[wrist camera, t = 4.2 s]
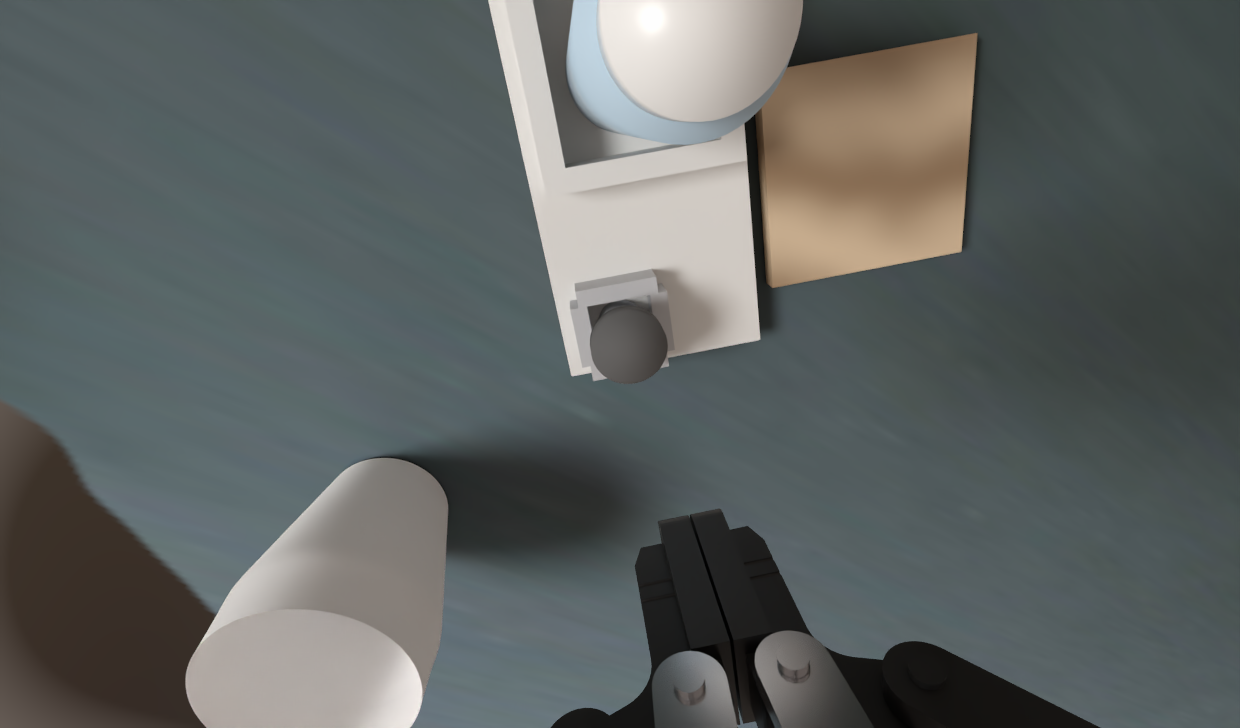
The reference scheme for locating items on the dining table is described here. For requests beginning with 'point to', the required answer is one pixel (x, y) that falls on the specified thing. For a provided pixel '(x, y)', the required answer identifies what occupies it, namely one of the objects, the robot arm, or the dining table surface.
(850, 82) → the coaster
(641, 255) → the housing
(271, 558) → the cup
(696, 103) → the bottle
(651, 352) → the plunger
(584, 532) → the dining table surface
